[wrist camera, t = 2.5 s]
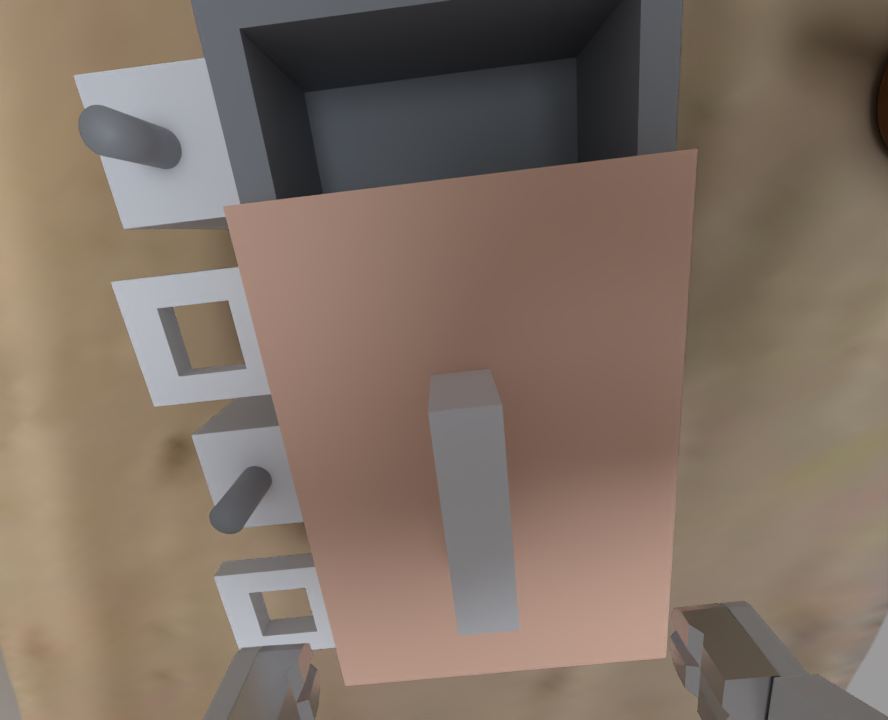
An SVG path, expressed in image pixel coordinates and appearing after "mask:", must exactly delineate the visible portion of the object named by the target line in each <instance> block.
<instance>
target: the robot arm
mask: <svg viewBox="0 0 888 720" xmlns="http://www.w3.org/2000/svg"><path fill="white" fill-rule="evenodd" d="M671 622H672V624H673V626H674V627H675V629H676V631H675V632H674V633H673V634H672V635H671V636H670V651H671V655H672V660H673V664H674V666H675V669H676V671H677V674H678V676H679V678H680V680H681V682H682V684H683V686H684V687H685V689H687V690H688V691H689V692H690V693H692V694H693V695H694V696H696V697H697V698H698V710H697V712H698V713H699V715H700V717H701V719H702V720H888V717H887V716H886V715H884V714H882V713H881V712H879V711H877V710H876V709H874V708H872V707H871V706H869V705H868V704H866V703H864V702H863V701H861V700H859V699H858V698H856V697H854V696H853V695H851V694H849V693H848V692H846V691H845V690H843V689H841V688H840V687H838V686H836V685H835V684H833V683H831V682H830V681H828V680H826V679H825V678H823V677H822V676H820V675H818V674H809V673H808V672H807V671H806V670H805V668H804V667H803V666H802V665H801V664H800V662H799V661H798V660H797V659H796V658H795V657H794V655H793V654H792V653H791V652H790V651H789V650H788V648H787V647H786V646H785V645H784V644H783V642H782V641H781V640H780V639H779V638H778V637H777V635H776V634H775V633H774V632H773V631H772V630H771V628H770V627H769V626H768V625H767V624H766V622H765V621H764V620H763V619H762V618H761V617H760V615H759V614H758V613H757V612H756V611H755V610H754V608H753V607H752V606H751V605H750V604H748V603H747V602H745V601H738V602H728V603H720V604H719V603H713V604H704V605H695V606H685V607H676V608H674V609H673V611H672V613H671ZM312 657H313V652H312V649H311V646H310V643H300V644H284V645H268V646H256V647H243V648H241V649H240V650H239V651H238V652H237V653H236V655H235V656H234V658H233V660H232V662H231V664H230V666H229V668H228V670H227V672H226V674H225V676H224V678H223V680H222V682H221V684H220V686H219V688H218V690H217V692H216V694H215V696H214V698H213V700H212V702H211V704H210V707H209V709H208V711H207V713H206V715H205V717H204V719H203V720H315V717H316V713H317V709H318V705H319V695H320V681H319V675H318V671H317V669H316V668H315V667H314V666H312V665H311V664H310V663H311V660H312Z"/></svg>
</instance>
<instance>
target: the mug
mask: <svg viewBox="0 0 888 720" xmlns="http://www.w3.org/2000/svg"><path fill="white" fill-rule="evenodd" d="M877 117H878V123H879V128H880V132H881V135H882V138H883V140H884V142H885V144H886V145H887V147H888V65H887V67H886V69H885V72H884V75H883V78H882V81H881V85H880V90H879V94H878V104H877Z"/></svg>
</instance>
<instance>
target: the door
mask: <svg viewBox="0 0 888 720" xmlns="http://www.w3.org/2000/svg"><path fill="white" fill-rule="evenodd" d="M697 154H698V148H697V149H689V150H681V151H672V152H664V153H656V154H648V155H640V156H631V157H623V158H615V159H607V160H599V161H590V162H582V163H574V164H566V165H558V166H549V167H541V168H533V169H525V170H517V171H508V172H500V173H492V174H484V175H476V176H467V177H459V178H451V179H443V180H435V181H426V182H418V183H410V184H402V185H394V186H385V187H377V188H369V189H361V190H353V191H344V192H336V193H328V194H320V195H312V196H303V197H295V198H287V199H279V200H271V201H262V202H254V203H246V204H238V205H230V206H223V209H224V213H225V216H226V220H227V224H228V228H229V232H230V236H231V240H232V244H233V248H234V252H235V256H236V259H237V263H238V266H237V267H228V268H220V269H211V270H203V271H194V272H186V273H177V274H169V275H160V276H152V277H143V278H135V279H127V280H121V281H115V282H111V284H112V287H113V290H114V293H115V296H116V298H117V301H118V304H119V307H120V310H121V313H122V316H123V318H124V321H125V324H126V327H127V330H128V333H129V336H130V339H131V341H132V344H133V347H134V350H135V353H136V356H137V359H138V361H139V364H140V367H141V370H142V373H143V376H144V379H145V381H146V384H147V387H148V390H149V393H150V396H151V399H152V401H153V404H154V407H156V406H165V405H175V404H184V403H193V402H202V401H211V400H221V399H230V398H239V397H248V396H258V395H267V394H271V396H272V400H273V404H274V408H275V412H276V416H277V420H278V424H279V428H280V431H281V435H282V439H283V443H284V447H285V451H286V455H287V459H288V463H289V467H290V471H291V474H292V478H293V482H294V486H295V490H296V494H297V498H298V502H299V506H300V510H301V514H302V517H303V521H304V525H305V529H306V533H307V537H308V541H309V545H310V549H311V553H309V554H299V555H288V556H278V557H268V558H257V559H247V560H237V561H227V562H223V563H222V565H221V566H220V568H219V569H218V571H217V572H216V574H215V576H214V579H215V582H216V585H217V587H218V590H219V593H220V596H221V599H222V602H223V605H224V607H225V610H226V613H227V616H228V619H229V622H230V625H231V627H232V630H233V633H234V636H235V639H236V642H237V645H238V648H239V650H240V649H241V648H243V647H256V646H268V645H284V644H300V643H310V646H311V649H323V648H334V647H336V650H337V654H338V658H339V662H340V666H341V670H342V674H343V678H344V682H345V686H351V685H362V684H373V683H385V682H396V681H407V680H419V679H430V678H441V677H453V676H464V675H475V674H487V673H498V672H509V671H521V670H532V669H543V668H555V667H566V666H577V665H589V664H600V663H611V662H623V661H634V660H645V659H657V658H666V647H667V631H668V615H669V599H670V583H671V567H672V551H673V535H674V519H675V503H676V488H677V472H678V456H679V440H680V424H681V408H682V392H683V376H684V360H685V344H686V329H687V313H688V297H689V281H690V265H691V249H692V233H693V217H694V201H695V185H696V170H697ZM226 300H228V301H229V305H230V309H231V312H232V316H233V320H234V324H235V327H236V331H237V335H238V338H239V342H240V346H241V350H242V353H243V357H244V361H245V363H244V364H235V365H226V366H217V367H208V368H199V369H192V368H191V364H190V361H189V358H188V355H187V352H186V348H185V345H184V342H183V339H182V335H181V332H180V329H179V326H178V323H177V319H176V316H175V313H174V310H173V307H174V306H182V305H191V304H200V303H208V302H217V301H226ZM297 588H306V591H307V595H308V598H309V602H310V606H311V609H312V613H313V616H306V617H296V618H285V619H274V620H270V618H269V615H268V612H267V609H266V606H265V602H264V599H263V596H262V593H261V592H265V591H276V590H286V589H297Z"/></svg>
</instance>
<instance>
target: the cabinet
mask: <svg viewBox="0 0 888 720" xmlns="http://www.w3.org/2000/svg"><path fill="white" fill-rule="evenodd" d="M191 4H192V8H193V12H194V16H195V20H196V24H197V28H198V33H199V37H200V41H201V45H202V49H203V53H204V57H205V58H200V59H193V60H185V61H178V62H170V63H163V64H155V65H148V66H140V67H132V68H125V69H117V70H110V71H102V72H95V73H87V74H80V75H74V78H75V81H76V85H77V88H78V91H79V94H80V97H81V100H82V103H83V106H84V110H83V112H82V113H81V115H80V118H79V132H80V135H81V137H82V139H83V141H84V143H85V144H86V145H87V146H88V148H89V149H91V150H92V151H93V152H95V153H96V154H98V155H100V158H101V161H102V164H103V167H104V170H105V173H106V176H107V179H108V182H109V185H110V188H111V191H112V194H113V197H114V200H115V204H116V207H117V210H118V213H119V216H120V219H121V222H122V225H123V228H124V229H229V228H228V224H227V220H226V216H225V213H224V209H223V206H230V205H238V204H246V203H254V202H262V201H271V200H279V199H287V198H295V197H303V196H312V195H320V194H328V193H336V192H344V191H353V190H361V189H369V188H377V187H385V186H394V185H402V184H410V183H418V182H426V181H435V180H443V179H451V178H459V177H467V176H476V175H484V174H492V173H500V172H508V171H517V170H525V169H533V168H541V167H549V166H558V165H566V164H574V163H582V162H590V161H599V160H607V159H615V158H623V157H631V156H640V155H648V154H656V153H664V152H672V151H676V137H677V116H678V96H679V75H680V55H681V34H682V14H683V0H191ZM192 438H193V441H194V445H195V448H196V451H197V454H198V457H199V460H200V463H201V466H202V469H203V472H204V475H205V478H206V481H207V484H208V487H209V490H210V493H211V496H212V499H213V502H214V506H215V507H214V508H213V509H212V511H211V512H210V522H211V524H212V525H213V527H214V528H215V529H217V530H218V531H220V532H222V533H226V534H234V533H237V532H239V531H240V530H242V528H247V527H257V526H267V525H277V524H287V523H297V522H304V521H303V517H302V514H301V510H300V506H299V502H298V498H297V494H296V490H295V486H294V482H293V478H292V474H291V471H290V467H289V463H288V459H287V455H286V451H285V447H284V443H283V439H282V435H281V431H280V428H279V424H278V420H277V416H276V412H275V408H274V404H273V400H272V396H271V394H267V395H258V396H248V397H239V398H236V399H235V400H233V401H232V402H231V403H230V404H229V405H227V406H226V407H225V408H224V409H223V410H221V411H220V412H219V413H218V414H217V415H215V416H214V417H213V418H212V419H210V420H209V421H208V422H207V423H206V424H204V425H203V426H202V427H201V428H200V429H198V430H197V431H196V432H195V433H194V434H192Z"/></svg>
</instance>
